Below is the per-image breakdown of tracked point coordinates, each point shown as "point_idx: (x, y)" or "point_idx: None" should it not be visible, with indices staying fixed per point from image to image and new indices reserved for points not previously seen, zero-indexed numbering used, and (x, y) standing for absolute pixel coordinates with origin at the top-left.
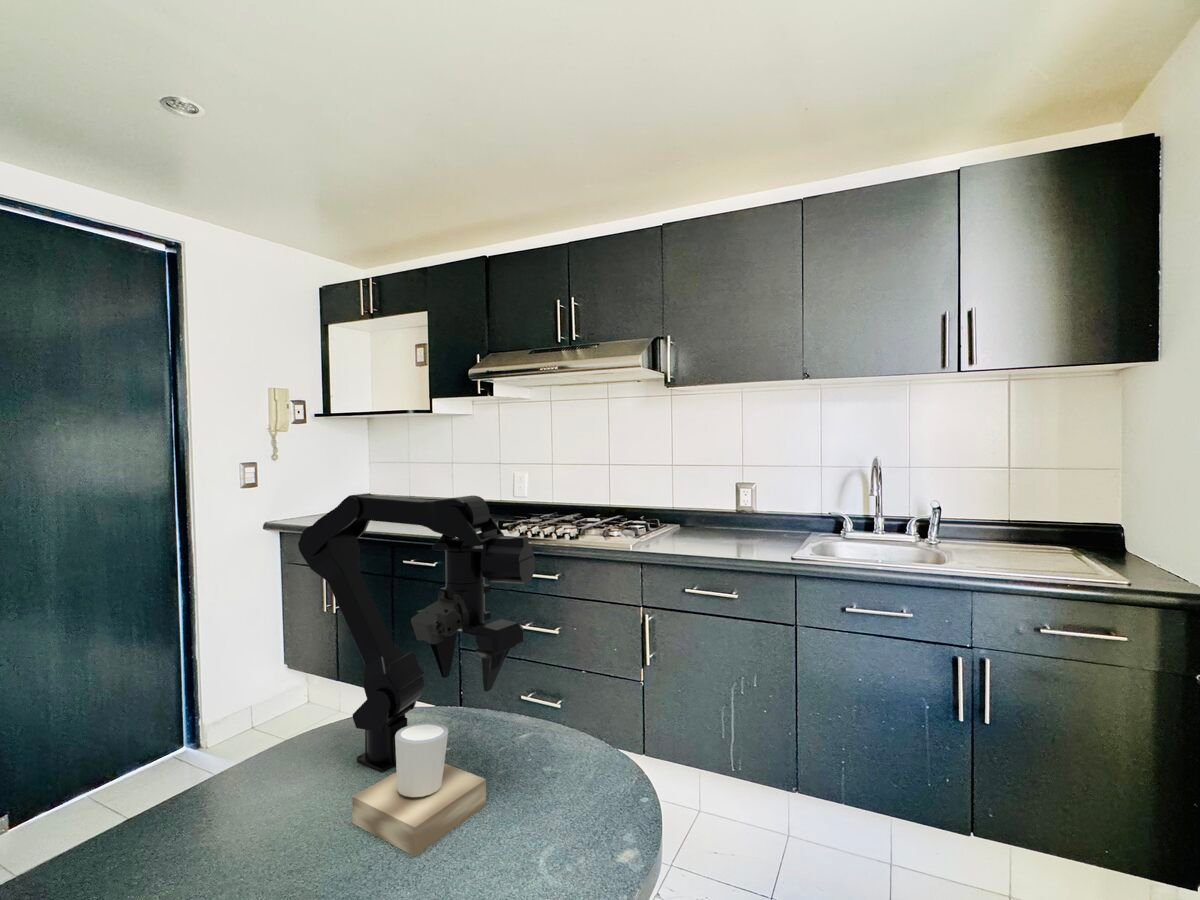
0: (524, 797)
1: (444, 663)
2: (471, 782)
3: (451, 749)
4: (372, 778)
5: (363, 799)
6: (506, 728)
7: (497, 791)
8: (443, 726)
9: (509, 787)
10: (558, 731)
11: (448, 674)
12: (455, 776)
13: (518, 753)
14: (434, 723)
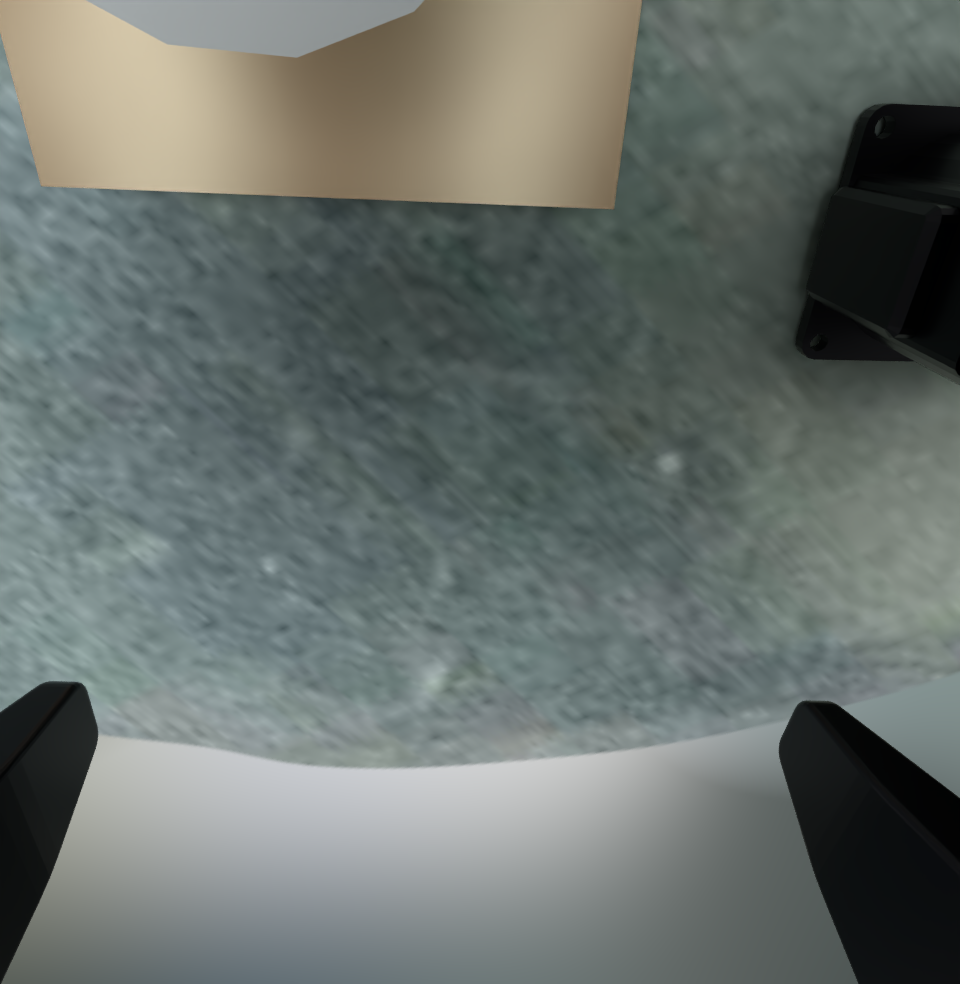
0: (23, 326)
1: (906, 880)
2: (75, 98)
3: (650, 465)
4: (885, 24)
5: None
6: (539, 684)
7: (171, 300)
8: (162, 6)
9: (154, 356)
10: (335, 750)
11: (790, 763)
12: (228, 101)
13: (348, 577)
14: (342, 21)
